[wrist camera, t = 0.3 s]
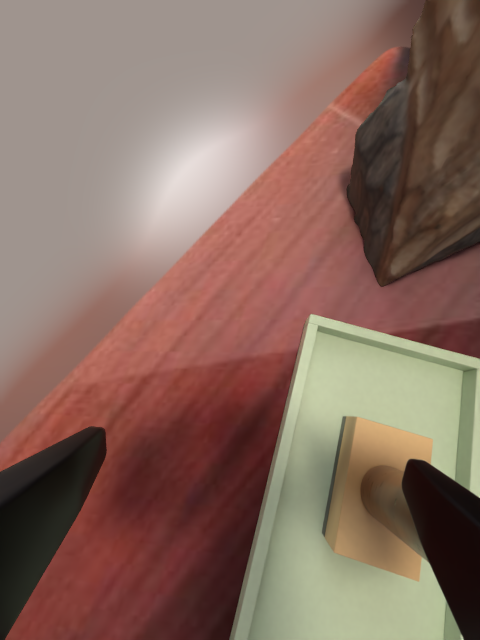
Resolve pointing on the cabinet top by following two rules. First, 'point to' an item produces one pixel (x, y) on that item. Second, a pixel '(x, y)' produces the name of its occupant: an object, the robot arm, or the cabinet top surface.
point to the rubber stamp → (374, 497)
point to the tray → (315, 478)
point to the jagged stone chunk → (423, 149)
